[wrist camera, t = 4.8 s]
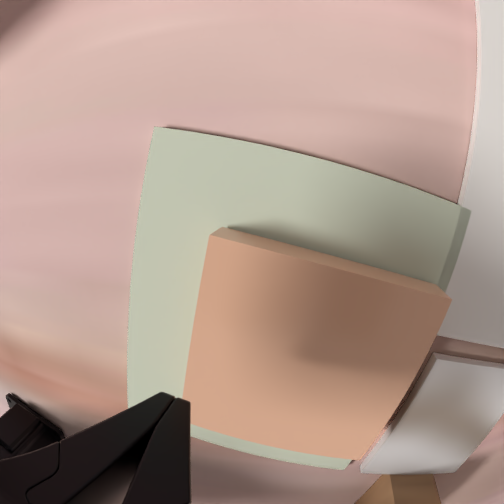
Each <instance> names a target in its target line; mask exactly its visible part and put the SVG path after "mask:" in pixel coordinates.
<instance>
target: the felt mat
mask: <svg viewBox="0 0 504 504" xmlns="http://www.w3.org/2000/svg"><path fill="white" fill-rule="evenodd" d="M461 207H462V206H460V205H457V204H455V203H452V202H450V201H447V200H445V199H442V198H440V197H437V196H435V195H432V194H429V193H427V192H424V191H421V190H418V189H416V188H413V187H410V186H407V185H404V184H402V183H399V182H396V181H393V180H390V179H387V178H384V177H381V176H377V175H374V174H371V173H368V172H365V171H362V170H358V169H355V168H352V167H348V166H345V165H341V164H338V163H334V162H331V161H327V160H323V159H319V158H316V157H312V156H308V155H304V154H300V153H296V152H292V151H288V150H283V149H279V148H275V147H270V146H266V145H261V144H256V143H252V142H247V141H242V140H237V139H231V138H226V137H220V136H215V135H209V134H203V133H197V132H190V131H184V130H177V129H170V128H162V127H154V130H153V135H152V140H151V144H150V149H149V154H148V159H147V165H146V170H145V176H144V181H143V187H142V193H141V199H140V206H139V213H138V220H137V228H136V235H135V244H134V253H133V263H132V273H131V285H130V299H129V317H128V344H127V393H128V408H130V407H132V406H134V405H136V404H138V403H140V402H142V401H144V400H146V399H148V398H150V397H151V396H153V395H155V394H157V393H159V392H165V393H168V394H171V395H173V396H175V398H177V397H179V398H182V397H183V390H184V383H185V376H186V369H187V362H188V355H189V349H190V342H191V336H192V330H193V323H194V317H195V311H196V305H197V300H198V294H199V288H200V283H201V277H202V272H203V266H204V261H205V255H206V250H207V245H208V240H209V235H210V234H211V233H213V232H215V231H216V230H218V229H219V228H221V227H226V228H230V229H233V230H237V231H241V232H245V233H249V234H253V235H257V236H261V237H264V238H268V239H272V240H276V241H280V242H284V243H287V244H291V245H295V246H299V247H302V248H306V249H310V250H314V251H317V252H321V253H325V254H329V255H332V256H336V257H340V258H343V259H347V260H351V261H354V262H358V263H362V264H365V265H369V266H373V267H376V268H380V269H383V270H387V271H391V272H394V273H398V274H401V275H405V276H408V277H412V278H415V279H419V280H422V281H426V282H429V283H433V284H436V285H437V286H439V285H440V289H441V290H443V289H444V288H445V286H446V287H448V284H449V283H448V282H450V280H449V277H450V279H451V276H452V273H453V272H452V271H454V268H455V267H454V266H455V265H456V262H457V259H458V255H459V254H458V253H460V250H461V247H462V243H463V241H462V240H464V237H465V234H464V232H465V233H466V230H467V227H466V226H468V223H469V221H468V222H467V220H466V219H467V216H468V220H469V218H470V214H471V213H470V212H471V210H469V209H467V208H466V209H465V207H463V208H462V209H461ZM462 210H463V212H462ZM464 210H465V212H464ZM467 211H469V213H468V212H467ZM466 213H467V214H468V215H466ZM461 214H462V215H461ZM460 216H461V217H460ZM463 216H464V217H463ZM462 217H463V218H462ZM460 218H461V219H460ZM465 218H466V219H465ZM465 220H466V221H465ZM462 221H463V222H462ZM458 223H459V224H458ZM466 223H467V224H466ZM464 225H465V226H464ZM460 228H462V229H463V230H462V229H460ZM455 229H456V230H455ZM458 229H459V230H458ZM461 230H462V231H463V232H462V231H461ZM459 231H460V232H459ZM461 232H462V233H461ZM460 233H461V234H460ZM462 234H463V235H462ZM459 235H460V237H459ZM461 235H462V236H463V237H462V236H461ZM454 236H455V237H454ZM456 236H457V237H458V239H457V238H456ZM461 238H462V239H461ZM455 239H456V241H457V242H458V241H459V243H457V242H456V241H455ZM460 239H461V240H460ZM460 241H461V242H460ZM452 243H453V244H455V243H456V244H455V246H454V245H453V244H452ZM451 246H452V247H451ZM450 247H451V248H452V249H451V248H450ZM454 249H456V250H454ZM458 249H459V250H458ZM451 251H452V252H451ZM453 251H454V252H453ZM456 252H457V254H456ZM449 254H450V255H449ZM452 255H453V256H452ZM454 255H455V257H454ZM447 257H448V258H449V259H448V258H447ZM451 258H452V259H451ZM447 259H448V260H447ZM450 259H451V261H450ZM453 259H454V260H455V262H454V260H453ZM452 261H453V262H454V263H453V262H452ZM444 264H445V266H444ZM447 264H448V265H447ZM449 265H450V266H449ZM453 265H454V266H453ZM451 266H452V267H451ZM450 267H451V268H450ZM443 268H444V269H443ZM447 268H448V270H447ZM452 268H453V270H452ZM445 270H446V271H445ZM443 273H444V274H445V275H444V274H443ZM446 274H447V275H446ZM450 274H451V275H450ZM442 276H443V277H442ZM448 276H449V277H448ZM439 278H440V279H439ZM443 278H444V279H443ZM445 278H446V279H445ZM439 282H441V283H439ZM446 284H447V285H446ZM446 289H447V288H445V289H444V290H443V291H444V292H446ZM190 436H191V437H194V438H197V439H200V440H203V441H206V442H210V443H213V444H216V445H219V446H223V447H226V448H230V449H234V450H237V451H241V452H245V453H249V454H253V455H257V456H261V457H266V458H270V459H275V460H280V461H285V462H291V463H296V464H302V465H308V466H315V467H322V468H329V469H338V470H344V469H345V468H346V467H347V466H348V464H349V463H350V462H351V459H342V458H334V457H326V456H320V455H313V454H307V453H301V452H296V451H291V450H285V449H281V448H276V447H271V446H267V445H262V444H258V443H254V442H250V441H246V440H242V439H239V438H235V437H231V436H228V435H224V434H221V433H218V432H214V431H211V430H208V429H205V428H202V427H199V426H196V425H193V424H191V429H190Z"/></svg>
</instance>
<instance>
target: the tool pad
mask: <svg viewBox="0 0 504 504" xmlns="http://www.w3.org/2000/svg"><path fill="white" fill-rule="evenodd" d="M475 8H476V23H477V77H476V93H475V105H474V115H473V123H472V131H471V138H470V144H469V150H468V156H467V162H466V167H465V172H464V177H463V182H462V186H461V191H460V195H459V199H458V203H457V205H460V206H462V207H461V209H462V208H463V207H465V209H466V208H467V209H469V210H471V212H470V213H471V214H470V218H469V220H468V216H467V219H466V218H465V219H466V220H467V222H468V221H469V223H468V226H466V227H467V230H466V233H465V232H464V234H465V237H464V240H462V241H463V243H462V247H461V250H460V253H458V254H459V255H458V259H457V262H456V265H455V266H454V265H453V266H454V267H455V268H454V271H452V272H453V273H452V276H451V279H450V277H449V276H448V277H449V280H450V282H448V283H449V284H448V287H446V286H445V288H447V289H446V292H445V293H446V294H447V295H448V296H449V297H450V298H451V299H452V301H451V304H450V306H449V309H448V311H447V313H446V316H445V318H444V320H443V322H442V325H441V327H440V329H439V331H438V333H437V335H438V336H443V337H448V338H453V339H458V340H463V341H468V342H473V343H478V344H483V345H488V346H493V347H499V348H504V0H475ZM462 212H463V210H462ZM464 212H465V210H464ZM467 212H468V213H469V211H467ZM461 215H462V214H461ZM466 215H468V214H467V213H466ZM460 217H461V216H460ZM463 217H464V216H463ZM463 217H462V218H463ZM460 219H461V218H460ZM466 220H465V221H466ZM462 222H463V221H462ZM458 224H459V223H458ZM466 224H467V223H466ZM464 226H465V225H464ZM460 229H462V228H460ZM455 230H456V229H455ZM458 230H459V229H458ZM462 230H463V229H462ZM462 230H461V231H462ZM459 232H460V231H459ZM462 232H463V231H462ZM462 232H461V233H462ZM461 233H460V234H461ZM462 235H463V234H462ZM462 235H461V236H462ZM454 237H455V236H454ZM459 237H460V235H459ZM462 237H463V236H462ZM456 238H457V239H458V237H457V236H456ZM461 239H462V238H461ZM461 239H460V240H461ZM455 241H456V239H455ZM456 242H457V241H456ZM460 242H461V241H460ZM457 243H459V241H458V242H457ZM452 244H453V243H452ZM455 244H456V243H455ZM455 244H453V245H454V246H455ZM451 247H452V246H451ZM451 247H450V248H451ZM451 249H452V248H451ZM454 250H456V249H454ZM458 250H459V249H458ZM451 252H452V251H451ZM453 252H454V251H453ZM456 254H457V252H456ZM449 255H450V254H449ZM452 256H453V255H452ZM454 257H455V255H454ZM447 258H448V257H447ZM448 259H449V258H448ZM448 259H447V260H448ZM451 259H452V258H451ZM451 259H450V261H451ZM453 260H454V259H453ZM452 262H453V261H452ZM454 262H455V260H454ZM454 262H453V263H454ZM447 265H448V264H447ZM444 266H445V264H444ZM449 266H450V265H449ZM451 267H452V266H451ZM451 267H450V268H451ZM443 269H444V268H443ZM447 270H448V268H447ZM452 270H453V268H452ZM445 271H446V270H445ZM443 274H444V273H443ZM444 275H445V274H444ZM446 275H447V274H446ZM450 275H451V274H450ZM442 277H443V276H442ZM439 279H440V278H439ZM443 279H444V278H443ZM445 279H446V278H445ZM439 283H441V282H439ZM446 285H447V284H446ZM438 287H439V288H440V285H439V286H438ZM445 288H444V289H445ZM444 289H443V290H444Z"/></svg>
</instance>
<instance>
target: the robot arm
mask: <svg viewBox="0 0 504 504" xmlns="http://www.w3.org/2000/svg"><path fill="white" fill-rule="evenodd" d="M6 399H7V402H8V405H9V407H10V409H9V410H8V411H7V412H6V413H5V414H3V415H2V416H1V417H0V504H191V462H190V429H191V403H190V401H187V400H184V399H182V398H179V397H177V398H175V396H173V395H171V394H168V393H165V392H159V393H157V394H155V395H153V396H151V397H150V398H148V399H146V400H144V401H142V402H140V403H138V404H136V405H134V406H132V407H130V408H128V409H126V410H124V411H122V412H120V413H118V414H116V415H114V416H112V417H110V418H108V419H106V420H104V421H102V422H100V423H98V424H96V425H94V426H91V427H89V428H87V429H85V430H83V431H81V432H78V433H76V434H74V435H72V436H70V437H67V438H65V439H64V435H63V433H62V431H61V430H60V429H59V428H57V427H56V426H54V425H53V424H51V423H50V422H48V421H47V420H45V419H44V418H42V417H41V416H39V415H38V414H37V413H35V412H34V411H32V410H31V409H30V408H28V407H27V406H26V405H24V404H23V403H22V402H20V401H19V400H18V399H16V398H15V397H14V396H13V395H11V394H10V393H9V394H7V395H6Z"/></svg>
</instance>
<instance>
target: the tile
mask: <svg viewBox="0 0 504 504" xmlns="http://www.w3.org/2000/svg"><path fill="white" fill-rule="evenodd" d="M451 301H452V299H451V298H450V297H449V296H448V295H447V294H446V293H445V292H444V291H443V290H441V289H440V288H439V287H438V286H437V285H436V284H433V283H429V282H426V281H422V280H419V279H415V278H412V277H408V276H405V275H401V274H398V273H394V272H391V271H387V270H383V269H380V268H376V267H373V266H369V265H365V264H362V263H358V262H354V261H351V260H347V259H343V258H340V257H336V256H332V255H329V254H325V253H321V252H317V251H314V250H310V249H306V248H302V247H299V246H295V245H291V244H287V243H284V242H280V241H276V240H272V239H268V238H264V237H261V236H257V235H253V234H249V233H245V232H241V231H237V230H233V229H230V228H226V227H221V228H219V229H218V230H216V231H215V232H213V233H211V234H210V235H209V240H208V245H207V250H206V255H205V261H204V266H203V272H202V277H201V283H200V288H199V294H198V300H197V305H196V311H195V317H194V323H193V330H192V336H191V342H190V349H189V355H188V362H187V369H186V376H185V383H184V390H183V397H182V399H184V400H187V401H190V403H191V424H193V425H196V426H199V427H202V428H205V429H208V430H211V431H214V432H218V433H221V434H224V435H228V436H231V437H235V438H239V439H242V440H246V441H250V442H254V443H258V444H262V445H267V446H271V447H276V448H281V449H285V450H291V451H296V452H301V453H307V454H313V455H320V456H326V457H334V458H342V459H351V460H361V458H362V457H363V456H364V454H365V453H366V452H367V450H368V449H369V448H370V446H371V445H372V444H373V442H374V441H375V439H376V438H377V437H378V435H379V434H380V432H381V431H382V429H383V428H384V427H385V425H386V424H387V422H388V421H389V419H390V418H391V416H392V414H393V413H394V411H395V410H396V408H397V407H398V405H399V403H400V402H401V400H402V399H403V397H404V395H405V394H406V392H407V390H408V388H409V387H410V385H411V383H412V382H413V380H414V378H415V376H416V374H417V373H418V371H419V369H420V367H421V365H422V363H423V361H424V360H425V358H426V356H427V354H428V352H429V350H430V348H431V346H432V344H433V342H434V340H435V338H436V335H437V333H438V331H439V329H440V327H441V325H442V322H443V320H444V318H445V316H446V313H447V311H448V309H449V306H450V304H451Z"/></svg>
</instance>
